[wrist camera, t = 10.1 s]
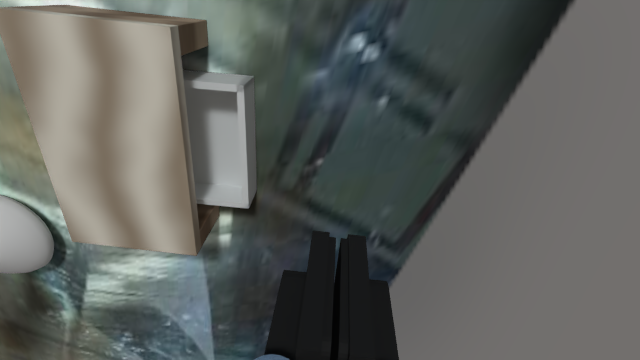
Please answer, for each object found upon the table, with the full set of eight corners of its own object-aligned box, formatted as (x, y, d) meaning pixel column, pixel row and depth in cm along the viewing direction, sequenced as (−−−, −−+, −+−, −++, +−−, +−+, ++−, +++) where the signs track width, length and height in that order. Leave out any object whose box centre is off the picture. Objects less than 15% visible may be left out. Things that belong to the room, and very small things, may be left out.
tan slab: (206, 20, 28) (170, 27, 22) (219, 215, 38) (196, 255, 32) (64, 4, 28) (-9, 7, 22) (114, 203, 38) (72, 241, 32)
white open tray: (253, 75, 30) (243, 85, 27) (256, 190, 36) (248, 208, 33) (100, 62, 30) (73, 70, 27) (128, 178, 36) (108, 195, 33)
